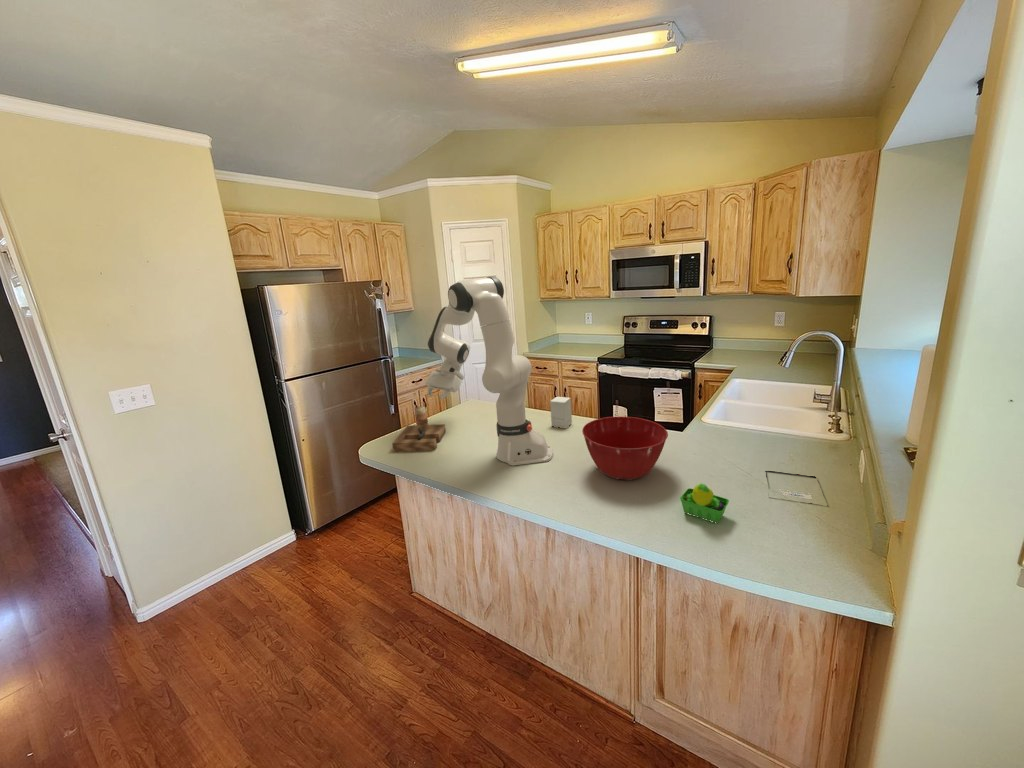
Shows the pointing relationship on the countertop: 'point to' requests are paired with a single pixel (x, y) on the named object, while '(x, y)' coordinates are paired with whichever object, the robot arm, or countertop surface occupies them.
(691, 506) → the fruit basket
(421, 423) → the cord spool
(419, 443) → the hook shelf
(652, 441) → the mixing bowl
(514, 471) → the countertop surface
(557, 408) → the supplement box
